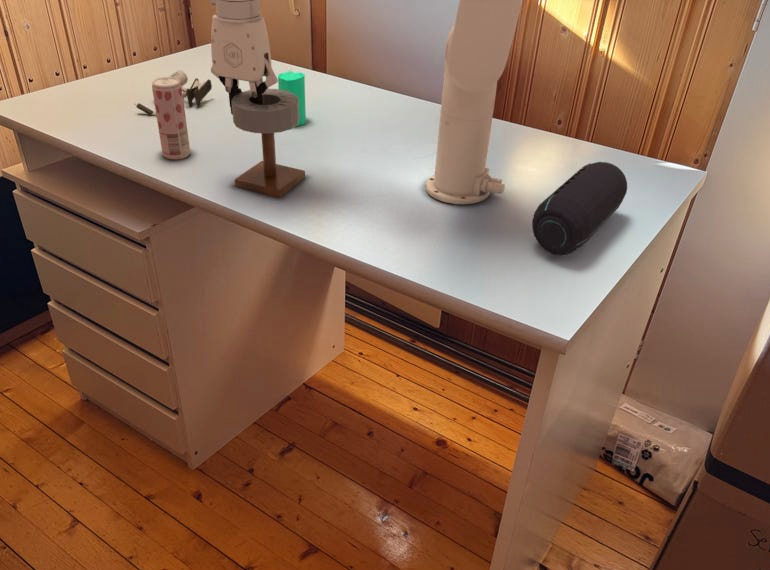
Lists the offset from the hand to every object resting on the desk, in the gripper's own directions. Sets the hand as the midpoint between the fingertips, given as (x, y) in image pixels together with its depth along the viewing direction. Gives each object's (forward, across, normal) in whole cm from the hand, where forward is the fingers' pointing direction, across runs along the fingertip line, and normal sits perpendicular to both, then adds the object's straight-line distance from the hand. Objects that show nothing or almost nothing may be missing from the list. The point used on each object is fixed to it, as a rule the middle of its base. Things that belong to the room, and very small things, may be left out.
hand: (246, 113), depth 133 cm
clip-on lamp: (+13, -38, +25) cm, 47 cm away
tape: (+1, +4, 0) cm, 4 cm away
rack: (+13, +4, 0) cm, 13 cm away
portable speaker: (+13, +63, +8) cm, 65 cm away
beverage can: (+13, -20, +2) cm, 24 cm away
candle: (+13, -8, +30) cm, 33 cm away
